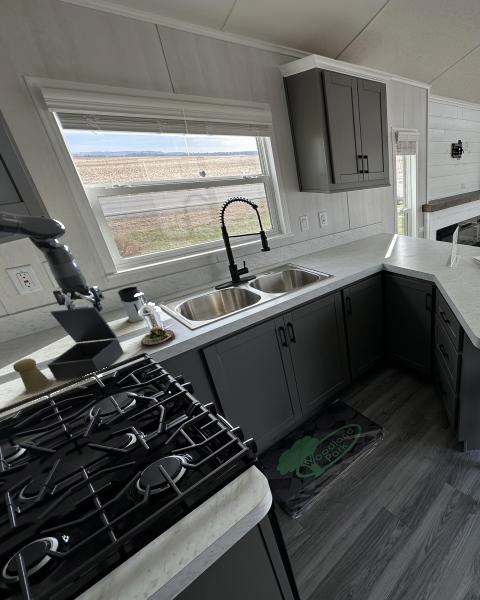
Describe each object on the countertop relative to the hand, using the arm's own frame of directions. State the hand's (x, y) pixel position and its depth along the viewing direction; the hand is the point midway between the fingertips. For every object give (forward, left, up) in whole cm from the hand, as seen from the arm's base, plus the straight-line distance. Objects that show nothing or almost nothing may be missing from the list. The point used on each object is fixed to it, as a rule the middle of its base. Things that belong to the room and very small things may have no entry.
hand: (87, 312), depth 127 cm
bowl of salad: (+6, -17, -19) cm, 26 cm away
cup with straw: (+15, -12, -19) cm, 27 cm away
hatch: (-4, 0, -4) cm, 5 cm away
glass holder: (+31, +2, -19) cm, 36 cm away
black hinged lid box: (-9, 0, -18) cm, 21 cm away
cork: (-19, +11, -19) cm, 29 cm away
